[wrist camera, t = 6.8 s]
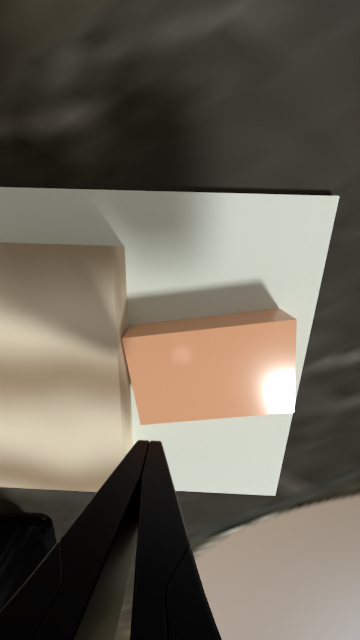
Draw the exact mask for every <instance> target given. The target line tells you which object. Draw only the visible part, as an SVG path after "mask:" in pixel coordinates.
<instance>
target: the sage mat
mask: <svg viewBox="0 0 360 640" xmlns="http://www.w3.org/2000/svg"><path fill="white" fill-rule="evenodd" d="M338 201H339V196H320V195H282V194H244V193H206V192H168V191H130V190H92V189H54V188H16V187H0V242H5V243H37V244H70V245H102V246H123V247H125V263H126V288H127V312H128V329H129V328H130V327H131V325H135V324H144V323H153V322H162V321H171V320H179V319H188V318H197V317H206V316H215V315H224V314H233V313H242V312H250V311H259V310H268V309H277V308H280V309H281V310H283V311H284V312H286V313H288V314H289V315H291V316H292V317H294V318H295V319H297V328H296V367H295V401H296V396H297V392H298V387H299V382H300V378H301V373H302V368H303V364H304V359H305V354H306V350H307V345H308V340H309V336H310V331H311V326H312V322H313V317H314V312H315V308H316V303H317V299H318V294H319V289H320V285H321V280H322V275H323V271H324V266H325V261H326V257H327V252H328V247H329V243H330V238H331V233H332V229H333V224H334V219H335V215H336V210H337V205H338ZM130 386H131V410H132V435H133V446H134V444H135V443H136V442H137V441H138V440H148V441H149V442H150V441H152V440H153V441H161V442H162V445H163V449H164V452H165V456H166V459H167V463H168V466H169V470H170V474H171V477H172V481H173V484H174V488H175V491H192V492H212V493H231V494H250V495H270V496H275V494H276V490H277V485H278V480H279V476H280V471H281V466H282V462H283V457H284V452H285V448H286V443H287V438H288V434H289V429H290V424H291V420H292V415H293V413H281V414H269V415H256V416H244V417H232V418H220V419H208V420H196V421H184V422H172V423H160V424H148V425H140V420H139V415H138V411H137V406H136V402H135V397H134V392H133V388H132V383H131V379H130Z"/></svg>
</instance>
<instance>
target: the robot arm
mask: <svg viewBox="0 0 360 640" xmlns="http://www.w3.org/2000/svg"><path fill="white" fill-rule="evenodd" d="M136 544H137V550H136V564H135V578H134V592H133V607H132V621H131V635H130V640H222V639H221V637H220V634H219V632H218V629H217V626H216V624H215V621H214V618H213V615H212V612H211V610H210V607H209V604H208V601H207V598H206V596H205V593H204V589H203V586H202V583H201V580H200V577H199V573H198V570H197V567H196V563H195V559H194V556H193V552H192V549H191V548H190V542H189V538H188V535H187V531H186V528H185V524H184V520H183V517H182V513H181V510H180V506H179V502H178V499H177V495H176V492H175V488H174V484H173V481H172V477H171V474H170V470H169V466H168V463H167V459H166V456H165V452H164V449H163V445H162V442H161V441H153V440H152V441H150V442H149V441H148V440H138V441H137V442H136V443H135V444H134V446H133V447H132V448H131V449H130V451H129V452H128V453H127V455H126V456H125V457H124V458H123V460H122V461H121V462H120V463H119V465H118V466H117V467H116V469H115V470H114V471H113V472H112V474H111V475H110V476H109V477H108V479H107V480H106V481H105V482H104V484H103V485H102V486H101V488H100V489H99V490H98V491H97V493H96V494H95V495H94V496H93V498H92V499H91V500H90V502H89V503H88V504H87V505H86V507H85V508H84V509H83V510H82V512H81V513H80V514H79V516H78V517H77V518H76V519H75V521H74V522H73V523H72V524H71V526H70V527H69V528H68V529H67V531H66V532H65V533H64V535H63V536H62V537H61V541H58V542H57V543H56V541H55V536H54V531H53V526H52V524H51V523H50V522H48V521H40V520H22V519H4V518H0V640H115V635H116V631H117V626H118V622H119V618H120V613H121V609H122V605H123V600H124V596H125V592H126V587H127V583H128V579H129V574H130V570H131V566H132V561H133V557H134V553H135V548H136Z"/></svg>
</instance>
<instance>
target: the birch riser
mask: <svg viewBox="0 0 360 640" xmlns="http://www.w3.org/2000/svg"><path fill="white" fill-rule="evenodd" d="M127 331H128V312H127V288H126V263H125V247H123V246H102V245H70V244H37V243H5V242H0V487H11V488H30V489H50V490H69V491H88V492H97V491H98V490H99V489H100V488H101V486H102V485H103V484H104V482H105V481H106V480H107V479H108V477H109V476H110V475H111V474H112V472H113V471H114V470H115V469H116V467H117V466H118V465H119V463H120V462H121V461H122V460H123V458H124V457H125V456H126V455H127V453H128V452H129V451H130V449H131V448H132V447H133V435H132V410H131V386H130V374H129V369H128V365H127V360H126V356H125V351H124V346H123V342H122V337H123V336H124V335H125V333H126V332H127Z"/></svg>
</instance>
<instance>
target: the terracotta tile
mask: <svg viewBox="0 0 360 640" xmlns="http://www.w3.org/2000/svg"><path fill="white" fill-rule="evenodd" d="M296 328H297V319H295V318H294V317H292V316H291V315H289V314H288V313H286V312H284V311H283V310H281V309H280V308H277V309H268V310H259V311H250V312H242V313H233V314H224V315H215V316H206V317H197V318H188V319H179V320H171V321H162V322H153V323H144V324H135V325H131V327H130V328H129V329H128V331H127V332H126V333H125V335H124V336H123V337H122V342H123V346H124V351H125V356H126V360H127V365H128V369H129V374H130V379H131V383H132V388H133V392H134V397H135V402H136V406H137V411H138V415H139V420H140V425H148V424H160V423H172V422H184V421H196V420H208V419H220V418H232V417H244V416H256V415H269V414H281V413H293V412H294V406H295V367H296Z"/></svg>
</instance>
